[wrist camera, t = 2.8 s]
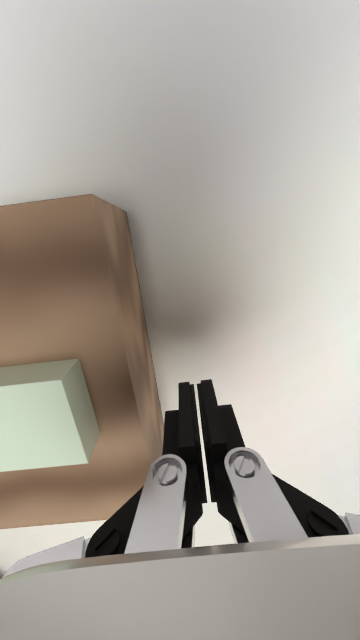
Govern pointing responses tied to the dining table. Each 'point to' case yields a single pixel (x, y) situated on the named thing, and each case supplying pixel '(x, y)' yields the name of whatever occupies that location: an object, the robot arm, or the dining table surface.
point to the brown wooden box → (79, 351)
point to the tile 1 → (45, 416)
